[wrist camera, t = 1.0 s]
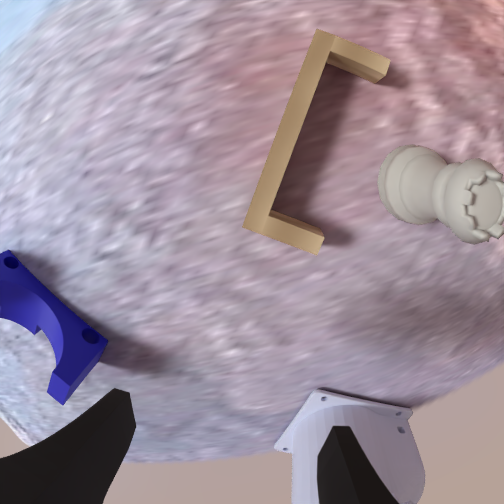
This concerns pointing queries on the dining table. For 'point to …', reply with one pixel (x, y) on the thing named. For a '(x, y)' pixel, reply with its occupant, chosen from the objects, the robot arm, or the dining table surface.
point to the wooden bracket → (319, 53)
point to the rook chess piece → (443, 192)
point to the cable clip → (49, 325)
